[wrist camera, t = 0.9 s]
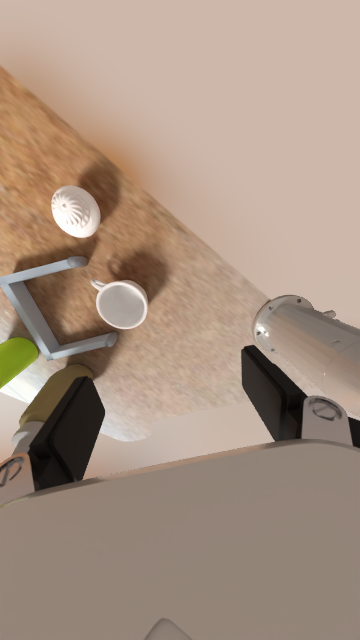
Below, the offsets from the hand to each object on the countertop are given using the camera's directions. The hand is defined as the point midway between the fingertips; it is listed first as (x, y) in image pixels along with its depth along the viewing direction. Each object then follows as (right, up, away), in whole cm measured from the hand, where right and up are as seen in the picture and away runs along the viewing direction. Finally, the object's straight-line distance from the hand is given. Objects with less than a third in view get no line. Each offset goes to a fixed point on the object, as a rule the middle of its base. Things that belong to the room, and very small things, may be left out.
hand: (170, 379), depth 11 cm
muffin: (-14, +20, +17) cm, 29 cm away
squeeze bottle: (-21, -8, +27) cm, 35 cm away
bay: (-19, +6, +21) cm, 29 cm away
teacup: (-10, +8, +21) cm, 25 cm away
